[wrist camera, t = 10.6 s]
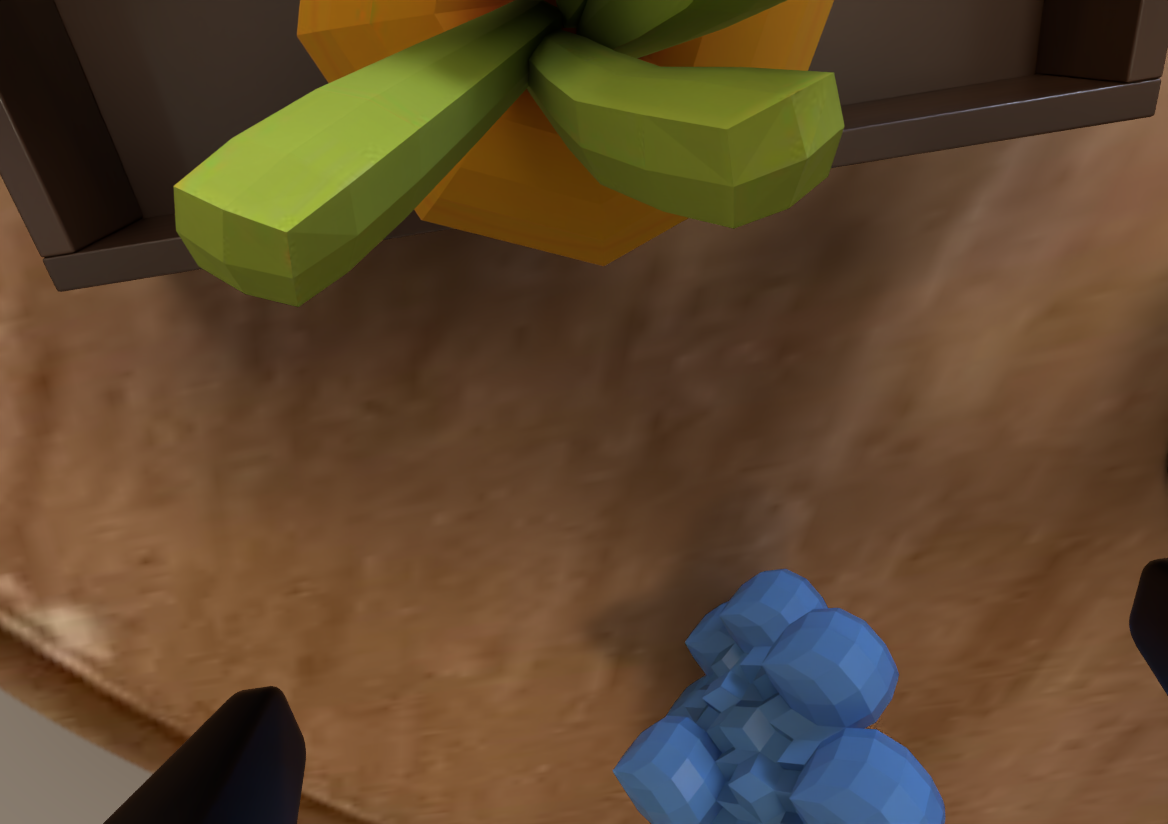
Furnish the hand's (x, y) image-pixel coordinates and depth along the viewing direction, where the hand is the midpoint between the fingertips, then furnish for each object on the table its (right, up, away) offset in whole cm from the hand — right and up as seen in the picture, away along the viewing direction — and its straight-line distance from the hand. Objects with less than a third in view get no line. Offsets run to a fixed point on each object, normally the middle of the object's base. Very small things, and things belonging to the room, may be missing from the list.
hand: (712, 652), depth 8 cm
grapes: (+2, -4, +17) cm, 18 cm away
